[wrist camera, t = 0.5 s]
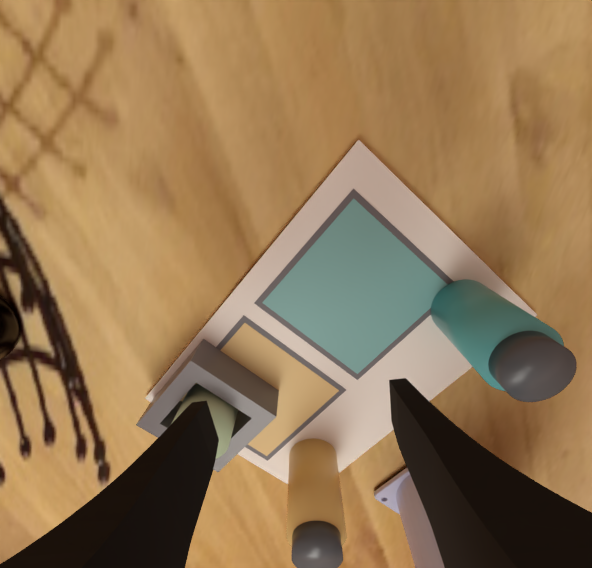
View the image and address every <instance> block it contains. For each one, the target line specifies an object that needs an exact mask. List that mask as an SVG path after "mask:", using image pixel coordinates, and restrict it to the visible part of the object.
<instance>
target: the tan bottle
mask: <svg viewBox="0 0 592 568" xmlns="http://www.w3.org/2000/svg"><path fill="white" fill-rule="evenodd" d="M346 538H347V534H346V526H345V518H344V510H343V503H342V495H341V487H340V479H339V471H338V463H337V455H336V451H335V449H334V447H333V446H332V445H331V444H329V443H328V442H326V441H324V440H321V439H314V438H313V439H305V440H302V441H300V442H298V443H296V444H295V445H294V446H293V447H292V449H291V450H290V454H289V475H288V501H287V526H286V539H287V541H288V543H289V545H290V546H291V547H292V562H293V564H294V565H295V566H296V567H297V568H337V567H339V566H340V564H341V563H342V561H343V553H342V546H343V544H344V543H345V541H346Z"/></svg>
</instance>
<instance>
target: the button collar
mask: <svg viewBox="0 0 592 568" xmlns="http://www.w3.org/2000/svg"><path fill="white" fill-rule="evenodd" d="M195 383H198V384H199V385H201V386H202V387H204V388H205V389H207V390H209V391H210V392H212V393H213V394H215V395H216V396H218V397H219V398H221V399H223V400H224V401H226V402H227V403H229V404H230V405H232V406H234V407H235V408H237V409H238V410H239V411H238V413H237V417H236V421H235V424H234V428H233V432H232V436H231V440H230V443H229V447H228V449H227V451H226V452H225V453H224V454H223V455H222V456H221V457H219V458H217V459H215V464H214V468H213V470H215V471H217V472H219V471H220V470H221V469H222V468H223V467H224V466H225V465H226V464H227V463H228V462H229V461H230V460H231V459H233V458H234V457H235V456H236V455H237V454H238V453H239V452H240V451H241V450H242V449H243V448H244V447H245V446H246V445H247V444H248V443H249V442H250V441H251V440H253V439H254V438H255V437H256V436H257V435H258V434H259V433H260V432H261V431H262V430H263V429H264V428H265V427H266V426H267V425H268V424H269V423H270V422H271V421H273V420H274V419H275V418H276V416H277V406H278V396H279V390H277V389H276V388H274V387H273V386H272V385H270V384H269V383H267V382H266V381H264V380H263V379H261V378H260V377H258V376H257V375H255V374H254V373H252V372H251V371H250V370H248V369H247V368H245V367H244V366H242V365H241V364H239V363H238V362H236V361H235V360H233V359H232V358H230V357H229V356H227V355H226V354H225V353H223V352H222V351H220V350H219V349H218V348H216V347H215V346H214V345H212V344H211V343H209V342H208V341H206V340H205V339H203V340H202V341H201V342H200V343H199V344H198V346H197V347H196V348H195V349H194V350H193V352H192V353H191V354H190V355H189V356H188V358H187V359H186V360H185V361H184V362H183V363H182V365H181V366H180V367H179V368H178V369H177V371H176V372H175V373H174V374H173V375H172V377H171V378H170V379H169V380H168V381H167V383H166V384H165V385H164V386H163V387H162V389H161V390H160V391H159V392H158V393H157V394H156V396H155V397H154V398H153V400H152V401H151V403H150V404H149V406H148V407H147V409H146V410H145V412H144V414H143V415H142V417H141V418H140V420H139V421H138V423H137V424H136V425H137V426H139V427H140V428H142V429H144V430H146V431H147V432H149V433H151V434H153V435H154V436H156V437H158V438H159V437H160V436H161V435H162V433H163V432H164V431H165V430H166V429H167V428H168V427H169V426H170V425H171V423H172V421H173V420H174V418H175V416H176V414H177V412H178V410H179V408H180V406H181V404H182V401H180V400H181V399H182V398H183V397H184V395H185V394H186V393H187V392H188V391H189V390H190V389H191V388H192V386H193V385H194V384H195Z"/></svg>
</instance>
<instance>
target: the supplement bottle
mask: <svg viewBox="0 0 592 568" xmlns="http://www.w3.org/2000/svg"><path fill="white" fill-rule="evenodd" d="M19 333H20V329H19V323H18V319H17V317H16V314H15V312H14V311H13V309H12V307H11V306H10V305H9V303H8V302H7V301H6V300H5V299H4V298H3V297H2V296H1V295H0V360H1V359H2V358H4V357H5V356H7V355H8V354H9V353H10V352H11V351H12V350H13V349H14V348H15V346H16V344H17V342H18V339H19Z"/></svg>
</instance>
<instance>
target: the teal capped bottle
mask: <svg viewBox="0 0 592 568" xmlns="http://www.w3.org/2000/svg"><path fill="white" fill-rule="evenodd" d="M431 317H432V320H433V322H434V323H435V324H436V326H437V327H438V328H439V329H440V330H441V331H442V332H443V334H444V335H445V336H446V337H447V338H448V339H449V340H450V341H451V343H452V344H453V345H454V346H455V347H456V348H457V349H458V351H459V352H460V353H461V354H462V355H463V356H464V357H465V358H466V360H467V361H468V362H469V363H470V364H471V365H472V366H473V367H474V369H475V370H476V371H477V372H478V373H479V374H480V375H481V377H482V378H483V379H484V380H485V381H486V382H487V383H488V384H489V385H490V386H492V387H494V388H496V389H499V390H502V391H506V392H507V393H508V394H509V395H510V396H511V397H513V398H515V399H517V400H519V401H524V402H537V401H542V400H545V399H548V398H550V397H552V396H554V395H556V394H558V393H559V392H561V391H562V390H563V389H564V388H565V387H566V386H567V385H568V384H569V383H570V382H571V380H572V379H573V377H574V375H575V372H576V359H575V357H574V355H573V354H572V352H571V351H570V350H568V349H567V348H565V347H564V344H563V340H562V338H561V336H560V335H559V334H558V332H557V331H555V330H554V329H553V328H551V327H550V326H548V325H547V324H545V323H543V322H542V321H540V320H539V319H537V318H535V317H534V316H532V315H531V314H529V313H527V312H526V311H524V310H523V309H521V308H519V307H518V306H516V305H515V304H513V303H512V302H510V301H508V300H507V299H505V298H504V297H502V296H500V295H499V294H497V293H496V292H494V291H492V290H491V289H489V288H488V287H486V286H484V285H483V284H481V283H480V282H477V281H475V280H469V279H463V280H458V281H454V282H452V283H450V284H448V285H446V286H445V287H444V288H442V289H441V290H440V291H439V292H438V293H437V295H436V296H435V298H434V300H433V302H432V305H431Z"/></svg>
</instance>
